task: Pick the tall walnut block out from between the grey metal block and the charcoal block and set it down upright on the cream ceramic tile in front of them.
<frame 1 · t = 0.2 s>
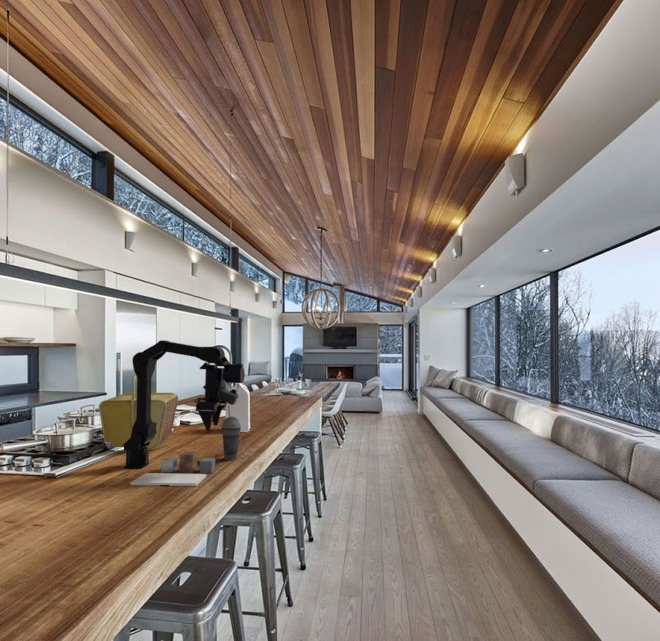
hand: (212, 427, 157), 14 cm above the kitchen island, tool pointing down, fingers open, 9 cm apart
walnut block: (188, 471, 152), on the kitchen island
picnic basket: (140, 444, 193), on the kitchen island
charcoal block: (207, 471, 152), on the kitchen island
cream tile: (169, 480, 141), on the kitchen island
beverage cup: (230, 459, 169), on the kitchen island
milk: (237, 430, 226), on the kitchen island
grey metal block: (169, 471, 153), on the kitchen island
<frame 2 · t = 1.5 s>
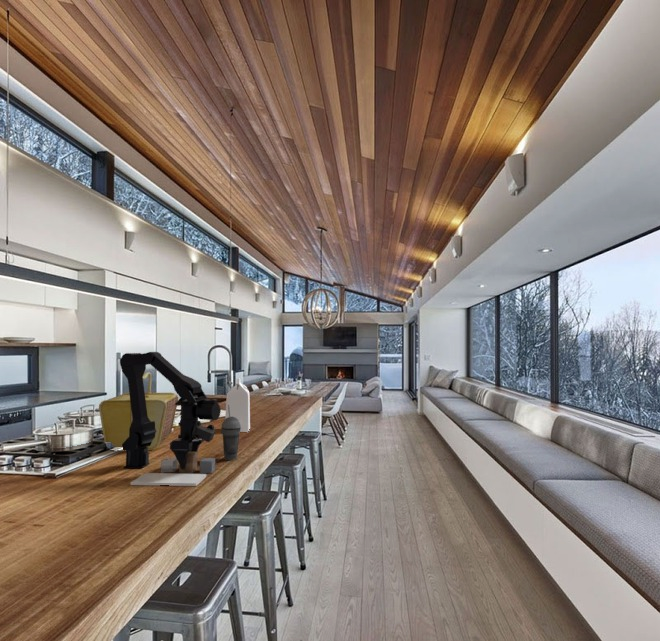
hand: (188, 465, 152), 2 cm above the kitchen island, tool pointing down, fingers open, 9 cm apart
nothing on the kitchen island moved.
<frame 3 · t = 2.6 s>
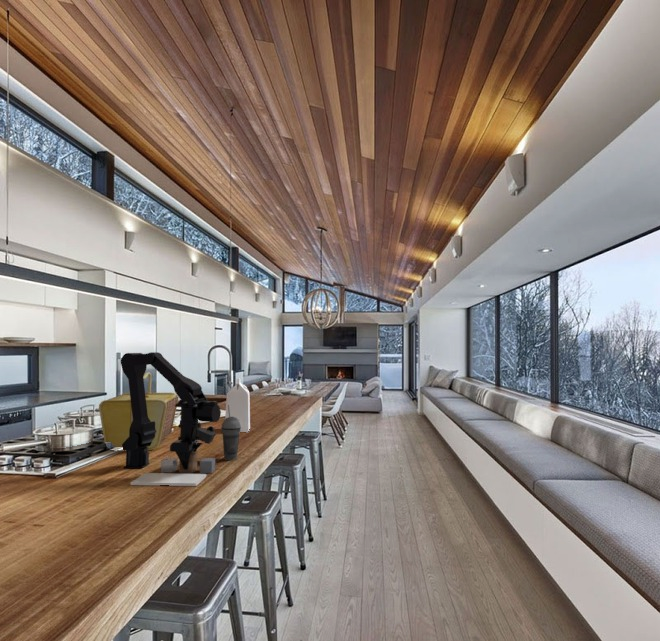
hand: (188, 467, 152), 1 cm above the kitchen island, tool pointing down, fingers closed on walnut block, 4 cm apart
walnut block: (188, 471, 152), on the kitchen island, touching gripper
everything else where it was.
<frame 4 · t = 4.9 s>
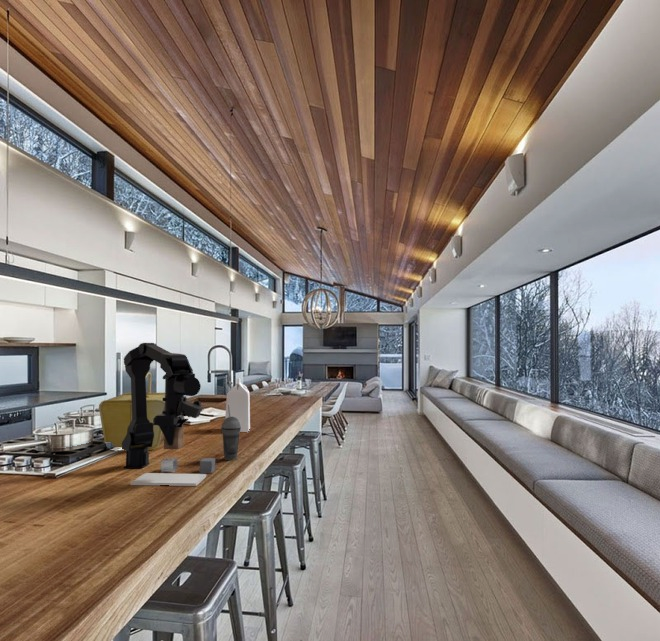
hand: (173, 443, 143), 11 cm above the kitchen island, tool pointing down, fingers closed on walnut block, 4 cm apart
walnut block: (173, 447, 143), point 10 cm above the kitchen island, touching gripper
everything else where it was.
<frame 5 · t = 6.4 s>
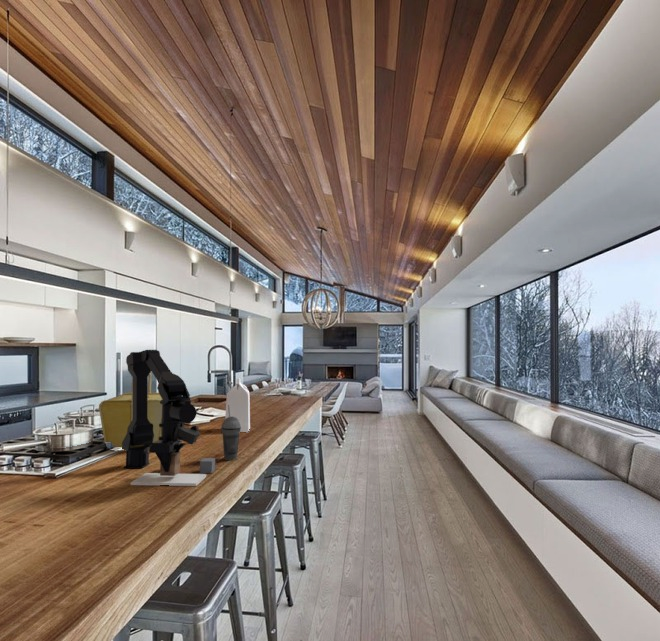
hand: (169, 469, 142), 3 cm above the kitchen island, tool pointing down, fingers closed on walnut block, 4 cm apart
walnut block: (170, 473, 142), point 2 cm above the kitchen island, touching gripper
everything else where it was.
when the fingers open (3 cm above the kitchen island, at t = 7.2 s): walnut block stays where it is, resting on cream tile.
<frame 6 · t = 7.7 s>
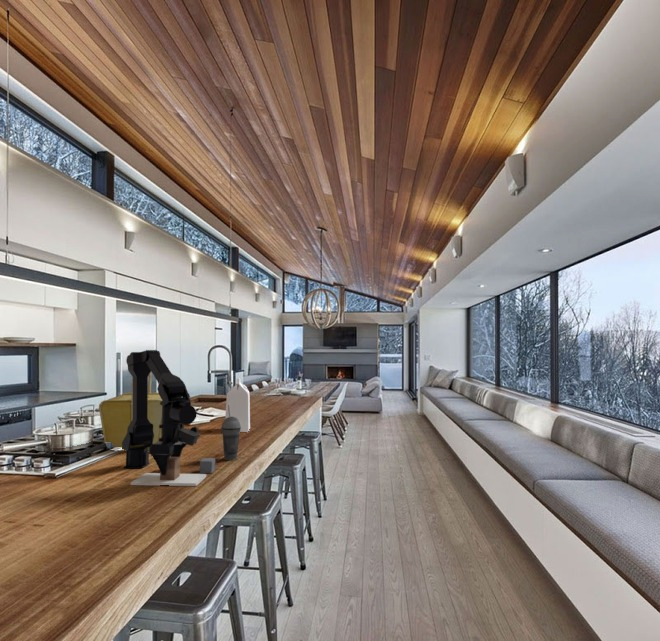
hand: (169, 470, 142), 3 cm above the kitchen island, tool pointing down, fingers open, 9 cm apart
walnut block: (169, 478, 141), point 1 cm above the kitchen island, touching cream tile
everything else where it was.
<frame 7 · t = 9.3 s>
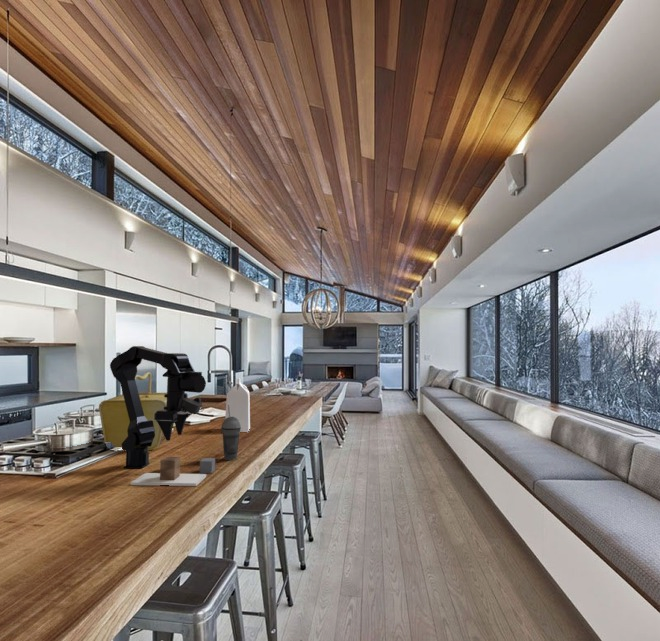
hand: (174, 437, 152), 11 cm above the kitchen island, tool pointing down, fingers open, 9 cm apart
nothing on the kitchen island moved.
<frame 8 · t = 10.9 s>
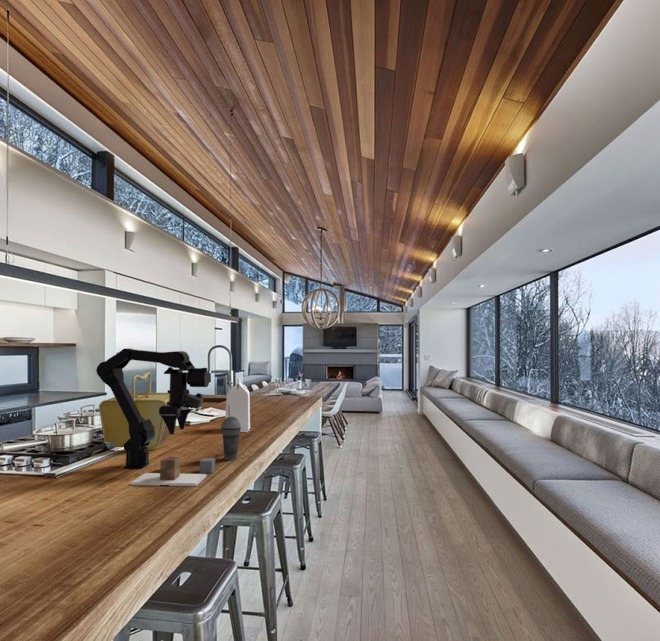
hand: (177, 431, 158), 12 cm above the kitchen island, tool pointing down, fingers open, 9 cm apart
nothing on the kitchen island moved.
at the end: walnut block inside the target area on the cream tile (0.0 cm from its centre), point 0.8 cm above the cream tile's base; walnut block tilted 0°; the gripper is holding nothing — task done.
